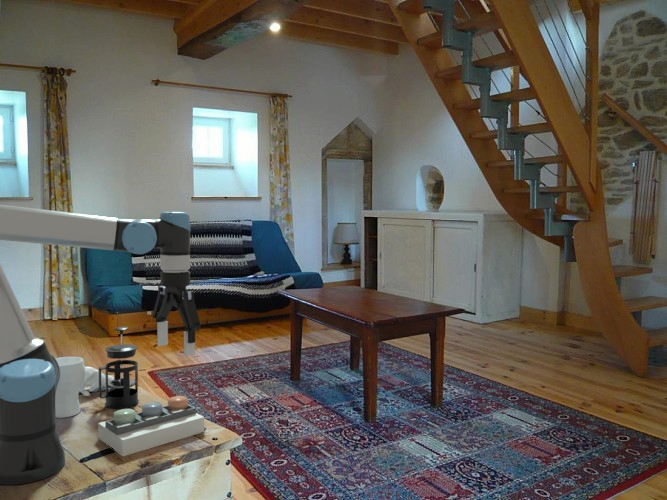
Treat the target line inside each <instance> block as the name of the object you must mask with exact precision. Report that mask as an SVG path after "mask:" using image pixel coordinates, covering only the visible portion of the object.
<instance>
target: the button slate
mask: <svg viewBox="0 0 667 500" xmlns="http://www.w3.org/2000/svg"><path fill="white" fill-rule="evenodd" d="M162 407H163V403H161V402H156V401H153V402H147V403H144V404H143V405H142V406H141V412H142V415H143V416H146V417H154V416H158V415H161V414H162Z"/></svg>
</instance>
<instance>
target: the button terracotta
mask: <svg viewBox="0 0 667 500" xmlns="http://www.w3.org/2000/svg"><path fill="white" fill-rule="evenodd" d="M188 399H189V398H188V397H187V396H184V395H183V396H182V395H177V396H172V397H169V398H168V399H167V405H168V408H169V409H172V410H181V409H185V408H186V407H187V406H188V404H189V403H188V401H189V400H188Z"/></svg>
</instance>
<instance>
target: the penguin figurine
mask: <svg viewBox="0 0 667 500" xmlns="http://www.w3.org/2000/svg"><path fill="white" fill-rule="evenodd" d="M111 380H114V377H113V375H109V374H108V382H109V381H111ZM88 387H89V388H88ZM103 387H104V389H105V390H106V373H105V374H104V373H103V372H102V371H101V388H103ZM86 388H88V390H86ZM98 389H99V369H96V368H94V367H92V366H85V378H84V381H83V384H82V386H81V388H80V390H79V393H81V394H82V395H83V396H85V397H90V396H91V394H90V392H93V391H95V390H98ZM111 390H112V388H109V387H108V391H111Z"/></svg>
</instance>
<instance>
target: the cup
mask: <svg viewBox="0 0 667 500" xmlns="http://www.w3.org/2000/svg"><path fill="white" fill-rule="evenodd" d="M54 358H55V359H56V360H57V362H58V364H59V368H60V379H59V382H58V385H57V389H56V396H55V411H56V418H57V419H58V418H59V419H61V418H69V417H73V416H76V415H78V414H79V413H80V412H81V405H80V401H79V394H80V391H79V390H80V388H81V386H82V384H83V381H84V378H85V367H86V365H85V361H84V359H83V357H81V356H62V357H61V356H60V357H54Z"/></svg>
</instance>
